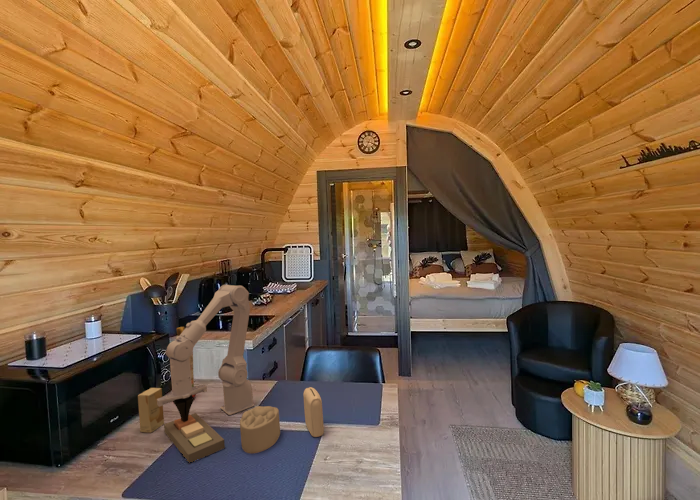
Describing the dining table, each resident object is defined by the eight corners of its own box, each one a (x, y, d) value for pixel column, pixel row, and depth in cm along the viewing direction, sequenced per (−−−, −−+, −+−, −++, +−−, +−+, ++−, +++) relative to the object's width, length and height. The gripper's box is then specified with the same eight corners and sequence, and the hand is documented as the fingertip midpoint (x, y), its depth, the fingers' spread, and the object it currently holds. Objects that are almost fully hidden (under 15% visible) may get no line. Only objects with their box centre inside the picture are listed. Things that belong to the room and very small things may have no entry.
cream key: (198, 428, 116) (197, 421, 116) (203, 433, 113) (203, 427, 113) (181, 434, 113) (181, 428, 113) (186, 440, 109) (186, 434, 109)
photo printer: (303, 423, 119) (301, 385, 118) (316, 420, 120) (314, 382, 120) (311, 439, 109) (309, 398, 109) (325, 435, 111) (323, 395, 110)
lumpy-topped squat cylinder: (283, 429, 116) (281, 402, 116) (269, 454, 103) (267, 423, 103) (251, 429, 117) (249, 402, 117) (233, 453, 104) (231, 423, 104)
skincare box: (151, 433, 118) (148, 395, 118) (139, 432, 119) (136, 395, 119) (165, 423, 125) (162, 387, 124) (154, 422, 126) (151, 387, 125)
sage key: (206, 439, 111) (206, 432, 111) (212, 445, 107) (212, 439, 107) (189, 446, 108) (188, 439, 108) (195, 453, 104) (194, 446, 104)
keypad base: (196, 420, 125) (195, 412, 125) (224, 448, 107) (224, 439, 107) (164, 431, 119) (163, 424, 119) (189, 463, 101) (188, 454, 101)
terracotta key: (190, 420, 122) (190, 414, 122) (196, 425, 118) (195, 419, 118) (174, 426, 118) (174, 420, 118) (179, 432, 115) (179, 425, 115)
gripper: (159, 389, 110) (163, 433, 110) (208, 374, 119) (212, 416, 120) (153, 383, 115) (157, 425, 116) (201, 369, 125) (204, 409, 125)
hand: (184, 420), depth 118 cm, fingers closed, pressing on terracotta key
